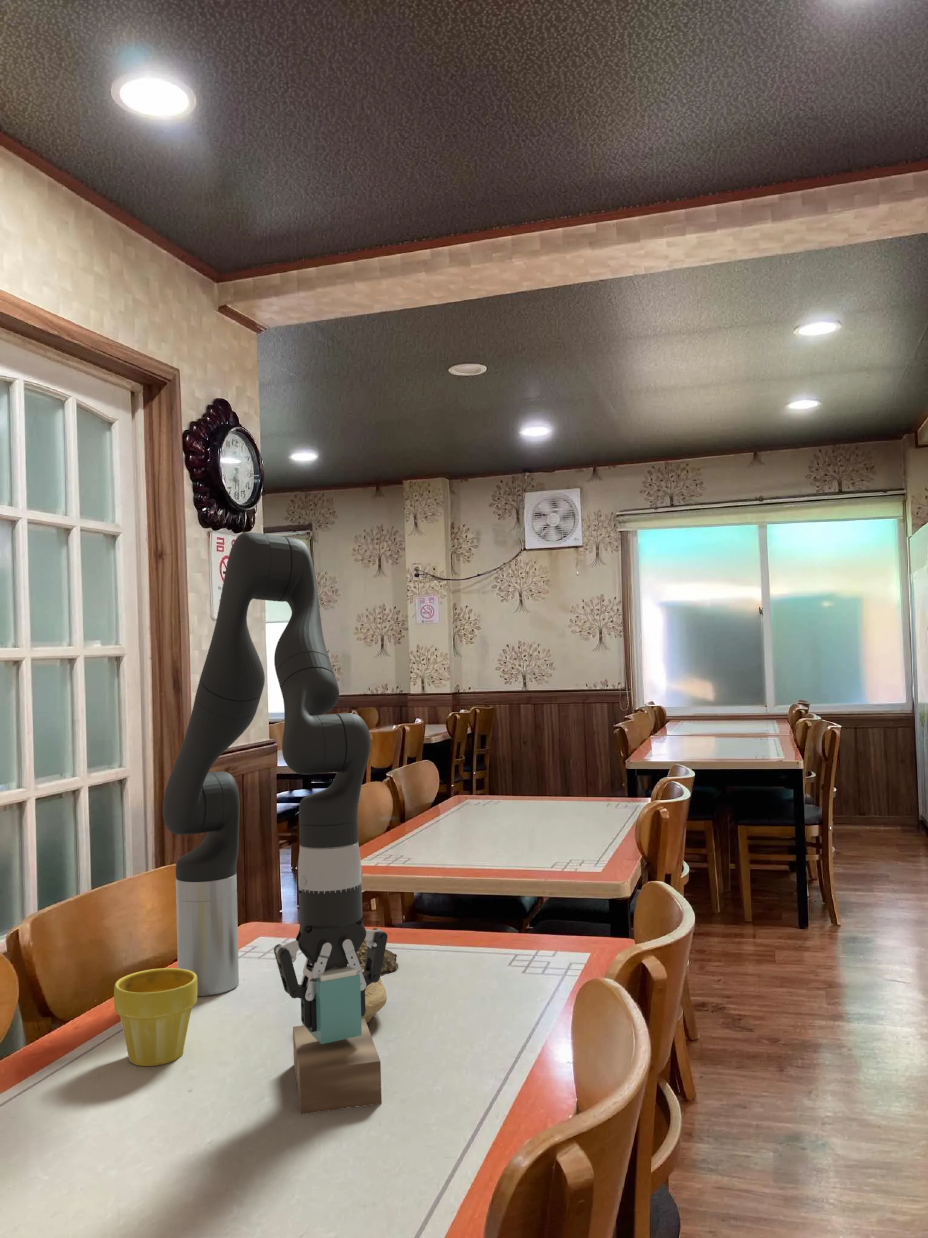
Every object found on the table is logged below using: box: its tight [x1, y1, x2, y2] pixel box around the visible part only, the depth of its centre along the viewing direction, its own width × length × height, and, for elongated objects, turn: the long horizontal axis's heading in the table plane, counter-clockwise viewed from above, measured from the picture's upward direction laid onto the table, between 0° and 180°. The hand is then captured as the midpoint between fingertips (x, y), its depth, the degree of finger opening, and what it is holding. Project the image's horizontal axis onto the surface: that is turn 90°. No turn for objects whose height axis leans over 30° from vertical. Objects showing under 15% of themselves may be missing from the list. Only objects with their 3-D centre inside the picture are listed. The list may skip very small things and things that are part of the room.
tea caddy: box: [308, 965, 362, 1044], centre depth 117 cm, size 5×5×8 cm
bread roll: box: [356, 939, 399, 974], centre depth 161 cm, size 13×12×5 cm
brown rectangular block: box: [292, 1018, 383, 1115], centre depth 116 cm, size 14×9×5 cm, turn 13°
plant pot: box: [113, 967, 198, 1067], centre depth 126 cm, size 10×10×10 cm
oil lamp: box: [360, 965, 388, 1023], centre depth 138 cm, size 11×15×8 cm
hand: (333, 1024), depth 117 cm, fingers closed on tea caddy, 5 cm apart
